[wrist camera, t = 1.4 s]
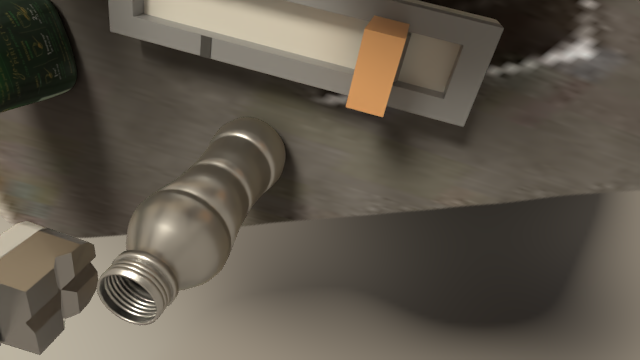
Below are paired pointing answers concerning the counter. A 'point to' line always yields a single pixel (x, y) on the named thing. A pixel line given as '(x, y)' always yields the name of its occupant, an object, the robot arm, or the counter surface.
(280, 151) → the silver ridged bottle
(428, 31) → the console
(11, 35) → the coffee jar
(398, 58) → the fader knob
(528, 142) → the counter surface
